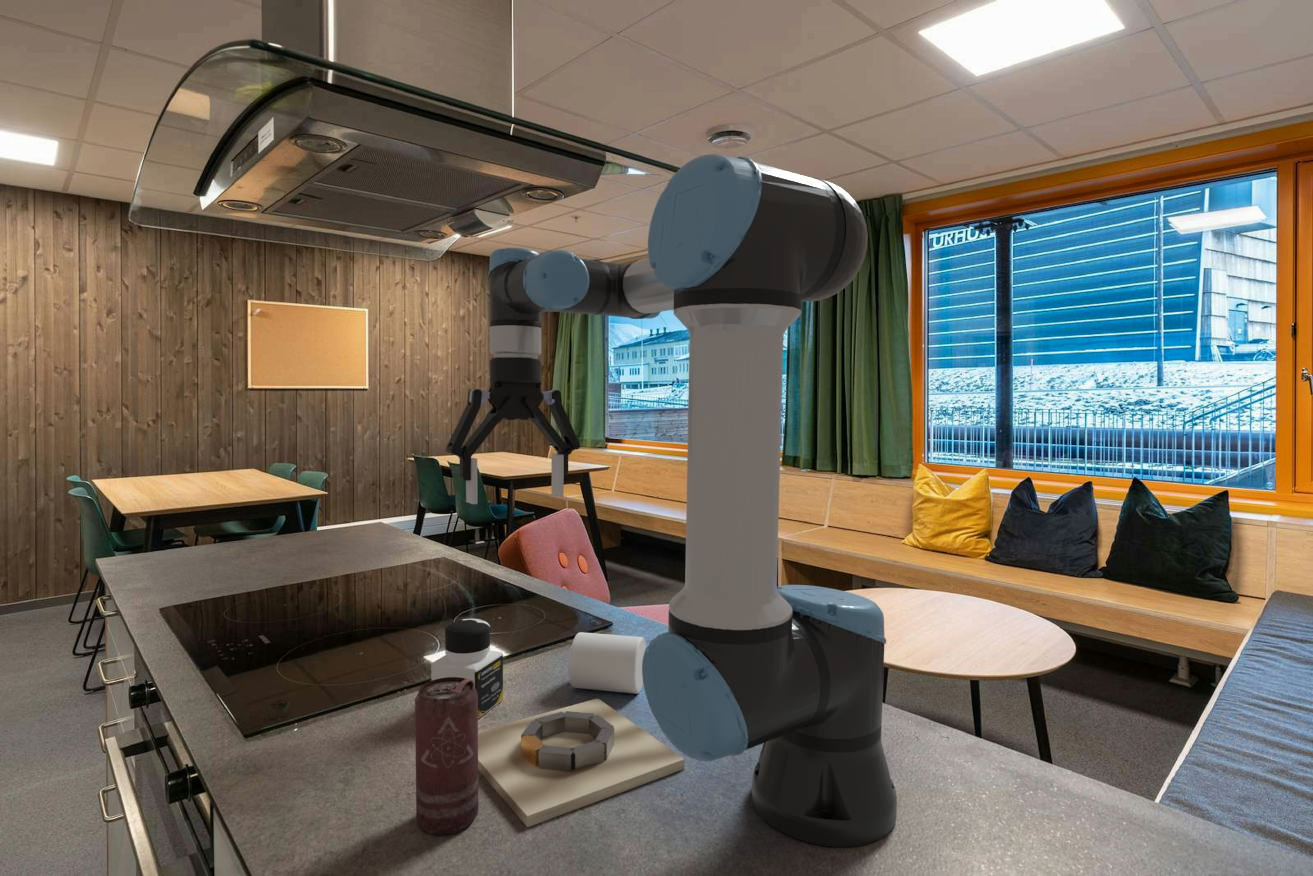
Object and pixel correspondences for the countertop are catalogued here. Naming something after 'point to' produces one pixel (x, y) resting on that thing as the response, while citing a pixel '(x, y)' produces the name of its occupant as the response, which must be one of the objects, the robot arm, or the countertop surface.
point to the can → (446, 755)
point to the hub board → (562, 791)
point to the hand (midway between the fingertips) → (516, 499)
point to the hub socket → (565, 756)
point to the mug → (606, 662)
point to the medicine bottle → (472, 661)
